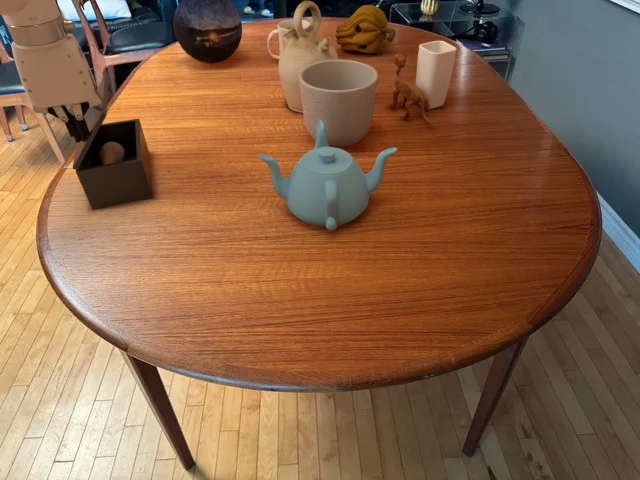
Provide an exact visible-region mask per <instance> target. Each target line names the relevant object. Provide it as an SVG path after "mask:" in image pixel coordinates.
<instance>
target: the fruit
mask: <svg viewBox="0 0 640 480" xmlns="http://www.w3.org/2000/svg"><path fill="white" fill-rule="evenodd" d="M335 33H336V34H335V36H334V37H335V38H336V44H337V45H339V46H340V48H341V50H342V51H344V52H350V51H351V52H352V51H353V52H354V51H355V52H361V53H366V54H377V53H379V52H380V51H381V50H382V48H383V45H384V43H385V41H386V42H387V43H390V44H391V43H392V42H393V40H394V38H395V36H396V30H395V29H394V28H391V27H388V18H387V17H386V13H385V12H384V11H383V10H382V9H381V8H380V7H377V6H376V5H372V4H365V5H362V6H360V7H358V9H356V10H355V11H354V13H353V14H352V15H351V16H349V18H347V19H346V20H345V21H343V22H342V24H339V25H338V26H337V28H336V29H335Z"/></svg>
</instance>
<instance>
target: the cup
mask: <svg viewBox="0 0 640 480" xmlns="http://www.w3.org/2000/svg"><path fill="white" fill-rule="evenodd" d="M456 56H457V47H456V46H454V45H452V44H450V43H449V42H446V41H443V40H433V41H429V42H423V43H420V44H419V45H418V53H417V61H416V73H415V75H416V76H415V85H416V86H417V87H419V88H420V89H421V90H423V92H424V94H425V97H424V98H427V99H428V100H429V106H430V107H429V109H428V110H433V109H437V108H440V107H442V106H443V105H444V104H445V101H446V98H447V94H448V92H449V88H450V84H451V79H452V77H453V72H454V67H455V61H456ZM417 105H419V106H420V107H421V103H418V104H417Z"/></svg>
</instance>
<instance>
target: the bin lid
mask: <svg viewBox="0 0 640 480" xmlns="http://www.w3.org/2000/svg"><path fill="white" fill-rule="evenodd" d="M109 79H110V75H109V74H107V73H105V74H104V75H103V76H102V79H101V81H100V83H99V84H98V87H96V90H97V92H98V93H99V95H100V96H101V98H102V99H101V103H100V104H98V105H96V106H93V107H90V108H89V109H88V111H87V112H86V114H85V115H84V118H85V121H86V124H87V126H88V129H89V134H87V139H86V141H85V142H83V141H80V142H79V143H76V142H75V148H74V155H73V161H72V169H73V170H75V171H76V170H77V169H78V167H79V165H80V164H81V162H82V160H83V158H84V156H85V154H86V152H87V151H88V149H89V147H90V145H91V143H92V141H93V139H94V138H95V136H96V134H97V132H98V130H99V128H100V126H101V125H102V124H104V121H105V120H106V118H107V115H108V101H109V82H110V81H109Z"/></svg>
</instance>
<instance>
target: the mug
mask: <svg viewBox="0 0 640 480" xmlns="http://www.w3.org/2000/svg"><path fill="white" fill-rule="evenodd" d="M302 26H303V29H304V30H307V29H309V28H310V26H311V22H310V21H307V20H305V19H302ZM293 27H294V18H291V19H285V20H282V21H280V22H278V23H277V25H276V29H274V30H272V31H271V32H269V34H268V35H267V39H266V48H267V51H268V54H269V55H270V56H271V58H273V59H275V60H280V56H281V54H282V52H283V50H284V48H285V47H287V45H288V43H289V41H288V39H286V38H285V37H284V36H283V33H284V32H286V31H287V30H289V29H291V28H293ZM275 35H277V41H278V42H277V43H278V52H279V53H278V54H279V55H278V54H275V53H273V51H272V50H271V48H270V43H271V39H272V38H273V37H274V36H275ZM297 35H298V36H299V37H300V35H299V34H298V33H297Z"/></svg>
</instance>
